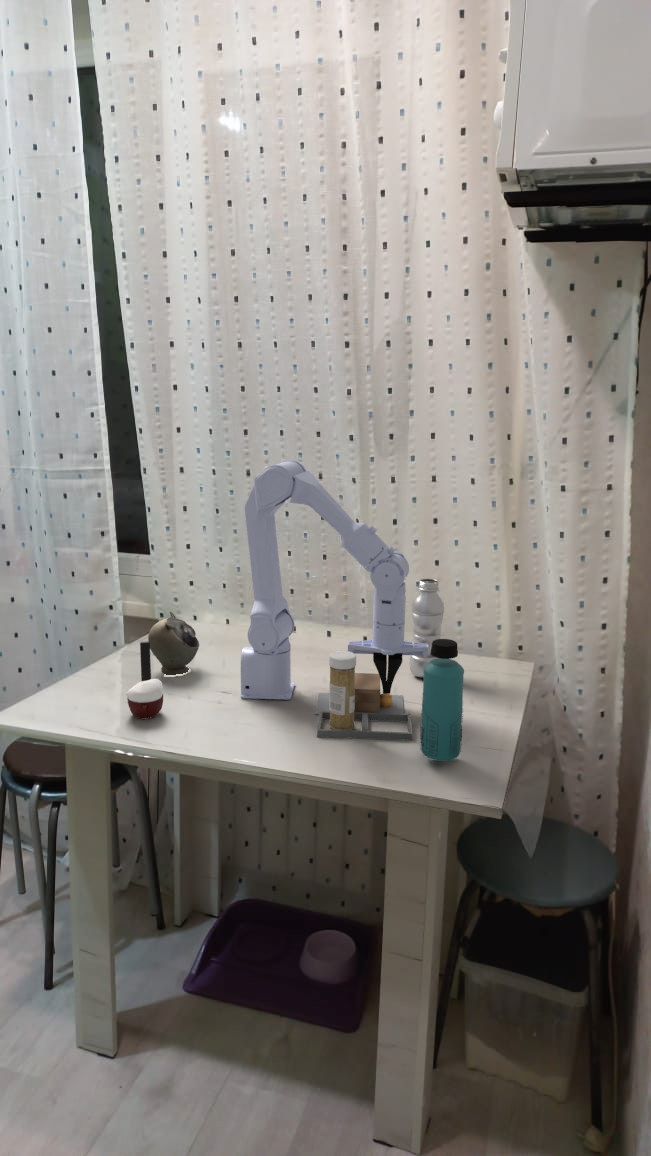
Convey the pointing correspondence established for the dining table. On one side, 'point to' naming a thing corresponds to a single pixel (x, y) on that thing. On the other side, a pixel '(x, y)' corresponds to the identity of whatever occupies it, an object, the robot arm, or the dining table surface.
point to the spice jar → (342, 690)
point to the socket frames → (365, 733)
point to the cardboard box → (367, 692)
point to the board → (387, 705)
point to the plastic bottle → (426, 622)
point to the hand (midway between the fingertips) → (386, 691)
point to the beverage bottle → (442, 703)
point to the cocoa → (145, 689)
